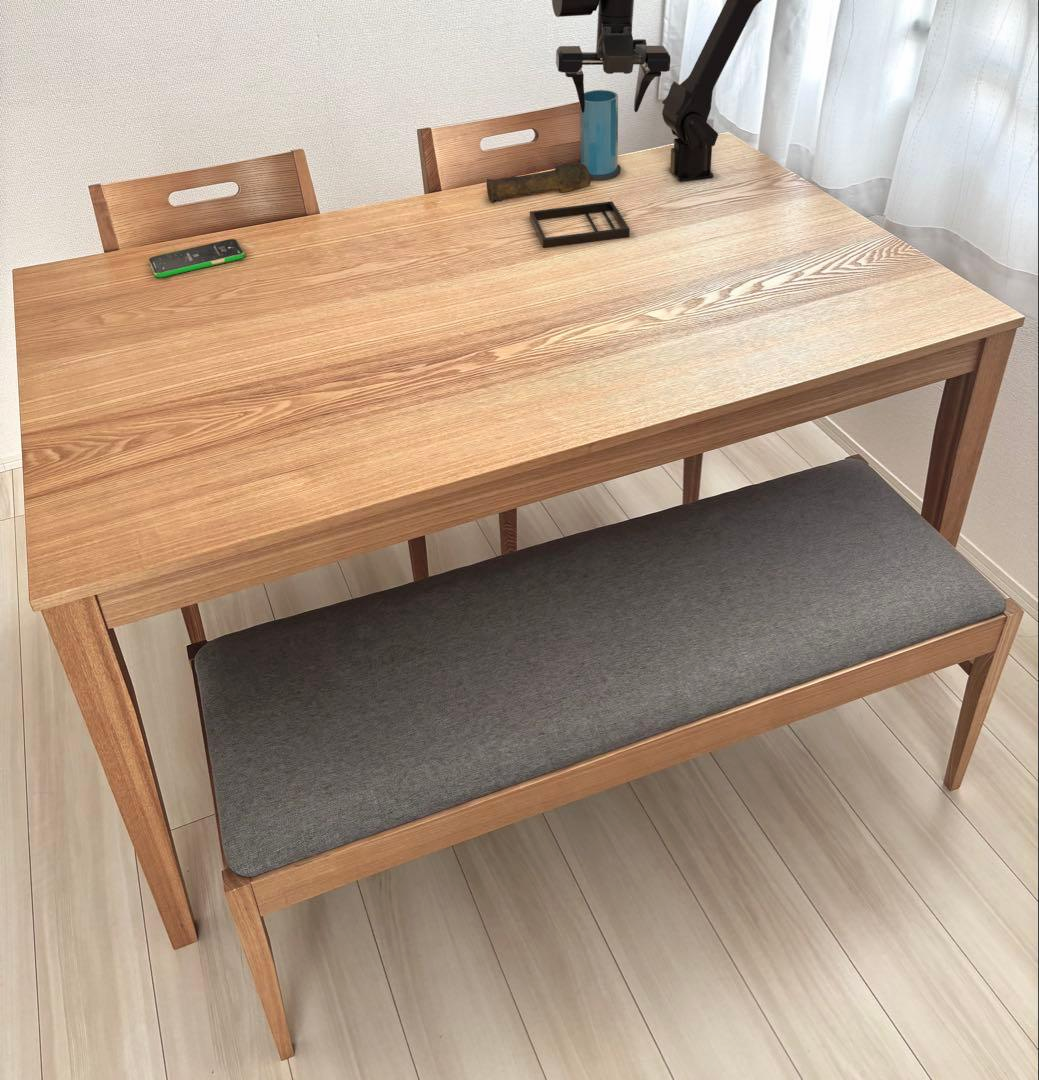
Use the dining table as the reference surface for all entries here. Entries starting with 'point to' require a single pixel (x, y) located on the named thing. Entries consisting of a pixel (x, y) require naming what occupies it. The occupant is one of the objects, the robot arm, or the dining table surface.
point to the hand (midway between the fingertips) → (609, 111)
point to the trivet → (607, 176)
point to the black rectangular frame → (581, 237)
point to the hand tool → (540, 182)
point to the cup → (599, 132)
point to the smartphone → (195, 258)
